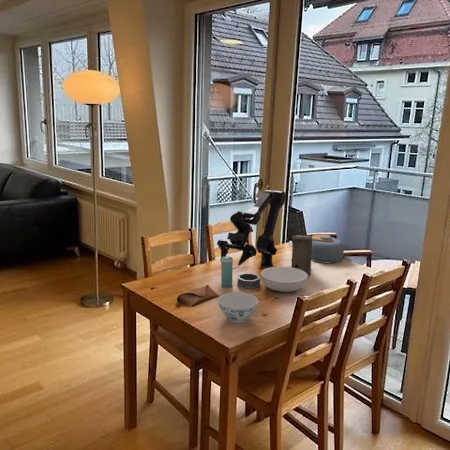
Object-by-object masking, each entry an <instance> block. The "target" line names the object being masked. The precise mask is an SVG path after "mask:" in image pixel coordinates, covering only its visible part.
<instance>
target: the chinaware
mask: <svg viewBox="0 0 450 450" xmlns="http://www.w3.org/2000/svg"><path fill="white" fill-rule="evenodd" d="M217 301H218V305H219V309H220V310H221V312H222V314H223V315H224V316H226V317H227V318H228V320H229V321H230V322H232V323H234V324H235V323H237V324H238V323H239V324H240V323H245V322H246V321H247V319H249V318H250V317H251V316H252V315H253V314H254V313H255V311H256V310H257V307H258V304H259V300H258V298H257V297H256V296H255V295H252V294H250V293H246V292H229V293H225V294H222V295H221V296H219V297H218V300H217Z"/></svg>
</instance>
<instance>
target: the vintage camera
mask: <svg viewBox="0 0 450 450" xmlns="http://www.w3.org/2000/svg"><path fill="white" fill-rule="evenodd" d="M312 236H313V235H311V234H310V235H296V234H294V235H292V237H291V244H292V248H291V249H292V251H291V259H290V261H291V265H290V266H291V268H296V269H300V270H302V271H304V272H306V273H307V275H308V276H311V272H312V271H311V267H312V259H311V252H312Z"/></svg>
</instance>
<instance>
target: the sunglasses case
mask: <svg viewBox="0 0 450 450" xmlns="http://www.w3.org/2000/svg"><path fill="white" fill-rule="evenodd" d="M219 297H221V296H220V295H219V294H218V293H217V292H215V290H214V289H213V288H211V286H210V285H209V284H206V285H205V286H202V287H199V288H195V289H193V290H190V291H188V292H183V293H181V294H178V296H177V297H176V302H177V303H178V302H179V304H180V303H181V305H182V306H183V305H184V306H185V305H186V307H188V308H190V307H191V308H192V307H195V306H197V305H200V304H202V303H204V302H207V301H210V300H212V299H215V298H219Z"/></svg>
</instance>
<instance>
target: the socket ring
mask: <svg viewBox="0 0 450 450" xmlns="http://www.w3.org/2000/svg"><path fill="white" fill-rule="evenodd" d="M260 281H261V275H259V274H256V273H251V272H250V273H248V272H243V273H240V274H238V275H237V283H236V285H237V286H238V287H240V288H241V289H256V288H258V287H260V285H261V284H260Z"/></svg>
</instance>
